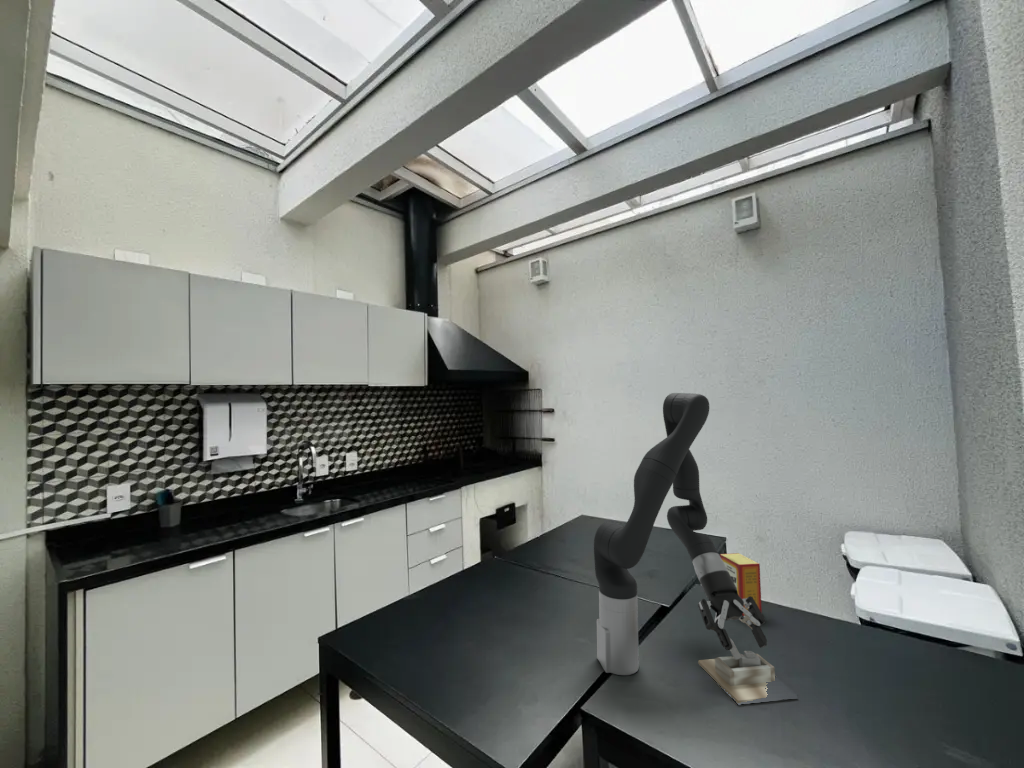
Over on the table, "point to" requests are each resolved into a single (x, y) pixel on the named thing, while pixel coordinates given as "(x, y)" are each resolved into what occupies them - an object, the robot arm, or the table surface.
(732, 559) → the baking soda box
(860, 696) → the table surface
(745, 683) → the holder
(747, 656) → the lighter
